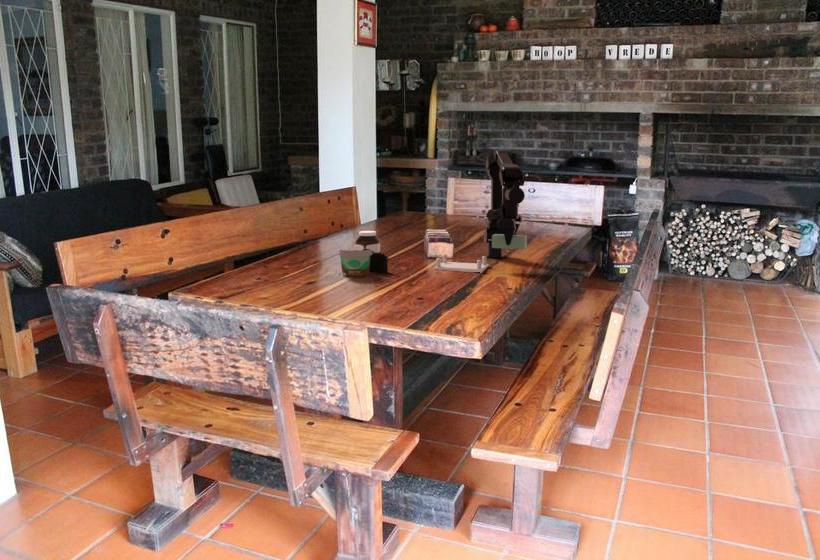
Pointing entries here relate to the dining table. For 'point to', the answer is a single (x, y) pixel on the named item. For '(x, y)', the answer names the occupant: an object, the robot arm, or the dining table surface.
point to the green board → (516, 243)
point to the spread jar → (367, 241)
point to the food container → (355, 263)
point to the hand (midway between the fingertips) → (509, 244)
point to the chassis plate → (461, 265)
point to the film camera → (378, 262)
